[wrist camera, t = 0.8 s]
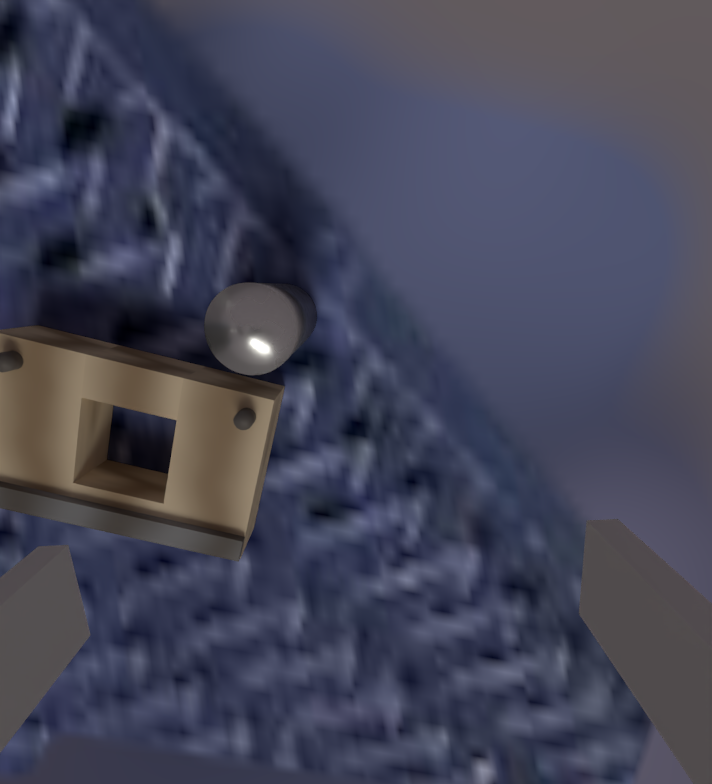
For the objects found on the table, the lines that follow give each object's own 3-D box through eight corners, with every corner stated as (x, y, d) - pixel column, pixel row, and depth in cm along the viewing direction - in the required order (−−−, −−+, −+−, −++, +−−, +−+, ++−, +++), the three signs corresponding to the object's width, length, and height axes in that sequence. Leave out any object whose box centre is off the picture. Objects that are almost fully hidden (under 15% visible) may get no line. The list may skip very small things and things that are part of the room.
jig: (27, 475, 33) (-30, 508, 28) (37, 325, 30) (-24, 332, 26) (253, 527, 34) (236, 567, 29) (284, 386, 31) (271, 404, 26)
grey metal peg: (249, 338, 31) (197, 362, 21) (261, 276, 29) (212, 272, 20) (309, 353, 31) (285, 384, 21) (323, 292, 30) (305, 296, 20)
